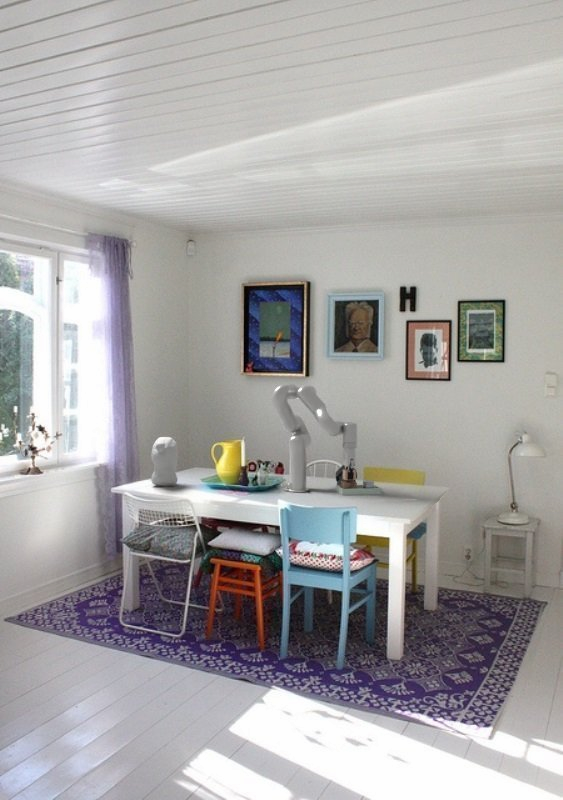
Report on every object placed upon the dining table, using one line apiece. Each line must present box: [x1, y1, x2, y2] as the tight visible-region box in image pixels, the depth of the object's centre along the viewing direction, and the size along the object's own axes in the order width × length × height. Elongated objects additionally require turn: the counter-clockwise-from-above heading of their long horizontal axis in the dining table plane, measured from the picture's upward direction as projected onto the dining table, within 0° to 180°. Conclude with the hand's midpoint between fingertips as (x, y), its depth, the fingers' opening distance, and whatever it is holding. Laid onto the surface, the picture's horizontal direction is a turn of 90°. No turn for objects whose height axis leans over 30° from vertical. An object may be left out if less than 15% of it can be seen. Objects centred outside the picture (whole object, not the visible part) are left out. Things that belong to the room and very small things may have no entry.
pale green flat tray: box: [335, 484, 382, 496], centre depth 406 cm, size 22×12×4 cm, turn 100°
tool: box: [334, 464, 358, 485], centre depth 424 cm, size 6×19×15 cm, turn 22°
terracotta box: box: [343, 469, 357, 480], centre depth 404 cm, size 6×5×5 cm
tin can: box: [362, 480, 375, 488], centre depth 407 cm, size 6×6×6 cm
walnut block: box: [341, 481, 358, 489], centre depth 405 cm, size 7×7×6 cm
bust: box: [150, 436, 179, 487], centre depth 420 cm, size 15×26×28 cm, turn 177°
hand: (349, 478), depth 404 cm, fingers closed on terracotta box, 4 cm apart
